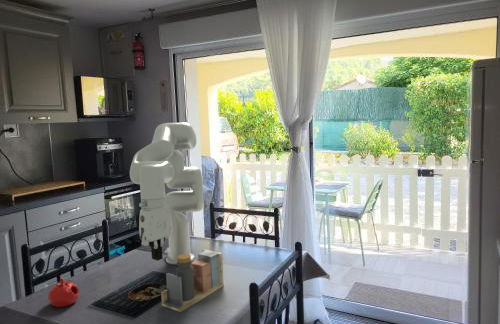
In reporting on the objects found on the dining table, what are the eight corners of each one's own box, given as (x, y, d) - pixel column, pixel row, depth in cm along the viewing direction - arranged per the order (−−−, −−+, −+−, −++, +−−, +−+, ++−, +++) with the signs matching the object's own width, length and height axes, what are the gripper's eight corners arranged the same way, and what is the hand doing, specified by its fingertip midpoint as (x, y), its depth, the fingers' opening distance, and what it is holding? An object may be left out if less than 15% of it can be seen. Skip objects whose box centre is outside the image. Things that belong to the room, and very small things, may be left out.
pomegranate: (51, 313, 128) (48, 287, 127) (46, 302, 137) (43, 278, 135) (82, 303, 134) (79, 279, 133) (76, 293, 142) (73, 270, 141)
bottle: (197, 294, 136) (195, 254, 135) (189, 302, 131) (187, 260, 129) (183, 292, 138) (180, 252, 137) (174, 300, 133) (172, 258, 131)
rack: (161, 305, 131) (159, 269, 129) (205, 280, 150) (204, 249, 148) (180, 312, 126) (178, 275, 124) (223, 285, 145) (222, 253, 143)
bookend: (164, 303, 130) (162, 275, 129) (169, 300, 132) (167, 272, 131) (177, 308, 126) (175, 279, 125) (182, 305, 128) (181, 276, 127)
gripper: (142, 209, 112) (146, 269, 114) (179, 199, 124) (182, 253, 126) (126, 207, 116) (130, 264, 118) (163, 197, 129) (166, 250, 131)
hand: (157, 258), depth 122 cm, fingers closed
